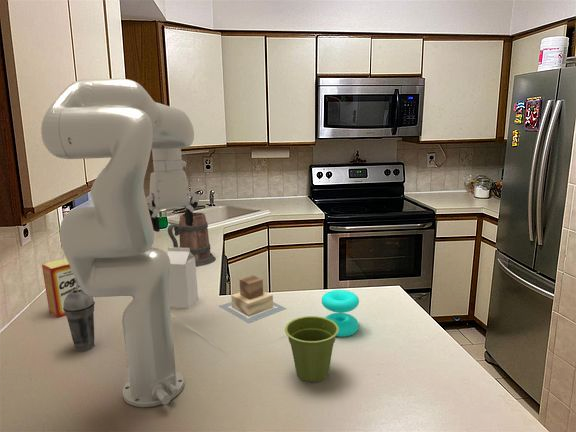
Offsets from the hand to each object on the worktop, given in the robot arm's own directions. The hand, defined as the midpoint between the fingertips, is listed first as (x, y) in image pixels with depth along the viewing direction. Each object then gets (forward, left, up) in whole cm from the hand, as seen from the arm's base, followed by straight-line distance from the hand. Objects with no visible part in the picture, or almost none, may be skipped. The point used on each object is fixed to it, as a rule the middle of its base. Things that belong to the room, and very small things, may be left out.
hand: (173, 228), depth 118 cm
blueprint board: (-9, -19, -28) cm, 35 cm away
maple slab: (-9, -19, -27) cm, 34 cm away
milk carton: (+9, -5, -28) cm, 30 cm away
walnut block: (-9, -19, -23) cm, 31 cm away
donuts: (-36, -29, -28) cm, 54 cm away
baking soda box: (+31, +23, -28) cm, 47 cm away
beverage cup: (+3, +26, -28) cm, 38 cm away
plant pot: (-46, -9, -28) cm, 55 cm away
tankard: (+47, -27, -28) cm, 61 cm away
